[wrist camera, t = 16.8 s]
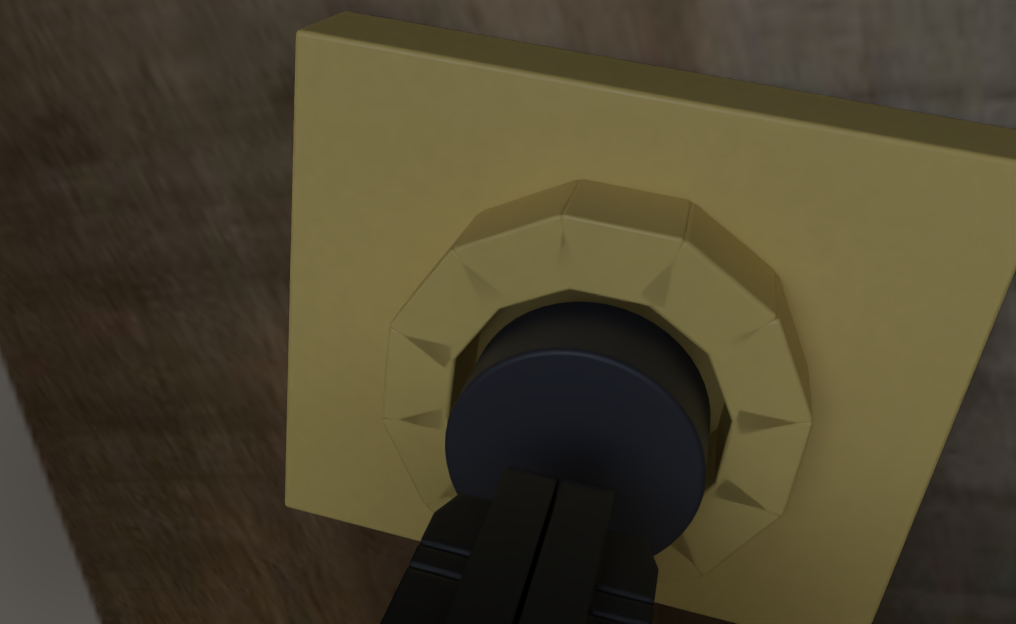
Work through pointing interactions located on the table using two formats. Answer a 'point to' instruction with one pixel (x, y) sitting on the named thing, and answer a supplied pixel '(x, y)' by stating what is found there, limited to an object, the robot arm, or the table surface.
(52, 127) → the table surface
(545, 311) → the bell button
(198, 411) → the table surface
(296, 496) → the tan button base
